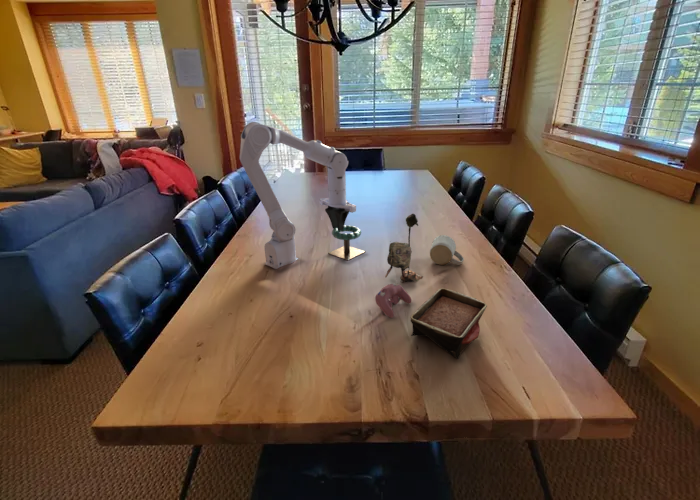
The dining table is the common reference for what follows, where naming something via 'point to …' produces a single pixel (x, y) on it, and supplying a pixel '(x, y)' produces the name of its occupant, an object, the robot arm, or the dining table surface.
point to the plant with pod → (403, 255)
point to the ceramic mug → (444, 251)
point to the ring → (346, 236)
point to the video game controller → (391, 298)
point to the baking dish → (449, 320)
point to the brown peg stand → (347, 251)
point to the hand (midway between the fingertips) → (338, 228)
